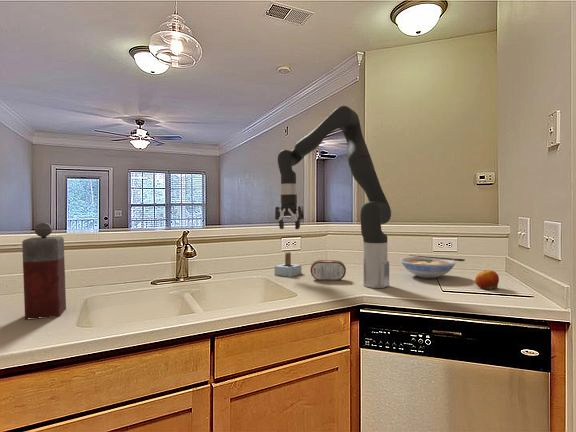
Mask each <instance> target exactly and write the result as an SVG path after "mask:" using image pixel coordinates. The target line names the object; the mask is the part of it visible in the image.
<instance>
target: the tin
mask: <svg viewBox="0 0 576 432" xmlns="http://www.w3.org/2000/svg"><path fill="white" fill-rule="evenodd" d="M346 272H347V269H346V265H345V264H344V263H343V262H342V261H340V260H335V259H334V260H331V259H329V260H327V259H325V260H324V259H317V260H315V261H313V263H312V264H311V266H310V274H311V277H313V279H314V280H317V281H332V282H333V281H335V282H336V281H341V280H342V279H343V278H344V277H346V276H345V275H346Z"/></svg>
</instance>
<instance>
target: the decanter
mask: <svg viewBox="0 0 576 432" xmlns="http://www.w3.org/2000/svg"><path fill="white" fill-rule="evenodd" d="M33 231H34V233H35V234H36V235H37V236H36V237H35V236H33V237H28V238H25V239H24V240H22V242H21V246H22V249H21V250H22V251H21V252H22V271H23V272H22V273H23V275H22V276H23V298H24V299H23V301H24V302H23V304H24V320H25V319H28V318H39V317H49V318H51V317H50V316H58V317H61V316H62V315H63V313H64V312H65V311H66V310H67V302H66V301H67V298H66V297H67V296H66V272H65V271H66V270H65V269H66V267H65V266H66V265H65V244H64V243H65V240H64V237H63V236H62V235H59V236H58V235H57V236H56V235H55V236H49V235H51V234H52V233H53V226H52V225H51V224H50V223H48V222H39V223H37V224H36V225H35V226H34V230H33ZM61 314H62V315H61ZM39 319H40V318H39Z"/></svg>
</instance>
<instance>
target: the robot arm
mask: <svg viewBox="0 0 576 432" xmlns="http://www.w3.org/2000/svg"><path fill="white" fill-rule="evenodd" d="M336 130H341V132H342V133H343V136H344V138H345V141H346V143H347V163H348V165H349V166H348V167H349V169H350V172H351V175H352V176H353V179H354V180H355V181H356V183H357V184H358V185H359V187H361V189H362V190H363V192H364V193H365V196H366V197H367V199H368V201H367V202H365V203H363V205H362V207H361V208H360V209H361V210H360V216H359V217H360V218H359V219H360V230H361V232H360V233H361V236H362V240H363V245H362V247H363V249H362V250H363V252H362V253H363V260H362V261H363V264H362V265H363V272H362V273H363V286H364V287H367V288H373V289H386V288H387V287H389V286H390V261H389V260H388V235H387V234H386V233H384V232H383V230H382V225H385V224H388V222H390V220H391V218H392V209H391V207H390V203H389V202H388V199H387V197H386V195H385V193H384V191H383V188H382V186H381V184H380V180H379V178H378V175H377V173H376V169H375V166H374V163H373V159H372V157H371V154H370V152H369V149H368V146H367V142H366V141H365V138H364V136H363V132H362V126H361V123H360V118H359V116H358V114H357V112H356V111H355V110H353V109H352V108H351V107H349V106H347V105H339V106H338V107H336V108H335V109H334V110H333V111H332V112H331V113H330V114H329V115H328V116H327V117H326V118H325V119H324V120H323V121H322V122H320V123H319V125H317V126H316V127H315V128H314V129H313V130H312V131H310V132H309V133H308V134H307V135H306V136H304V137H302V138H301V139H299V140H298V141H297V142H296V143H295V145H294V148H293V149H291V150H288V149H282V150H280V151H279V153H278V154H277V165H278V169H279V173H280V204H281V205H280V206H276V207H275V211H274V215H275V216H274V219H275V220H277V221H278V228H279V229H280V230H284V229H285V225H284V224H285V222H284V221H285V220H284V219H286V217H292V218H293V219H294V220H295V222H294V223H295V225H294V228H295V229H294V230H299V229H300V228H301V221H302V220H304V207H303V206H301V205H300V206H297V205H298V189H297V188H298V187H297V173H296V171H294V170H293V167H294V166H296V165H299V163H300V162H301V161H302V160H303V159H304V158H305V156H307V155H309V154H310V153H312V151H314V150H315V149H317V148H318V147H319V146H320V145H321V144H322V142H323V141H324V139H325V138H326V137H327V136H328V135H329V134H331V133H332V132H334V131H336Z"/></svg>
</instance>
